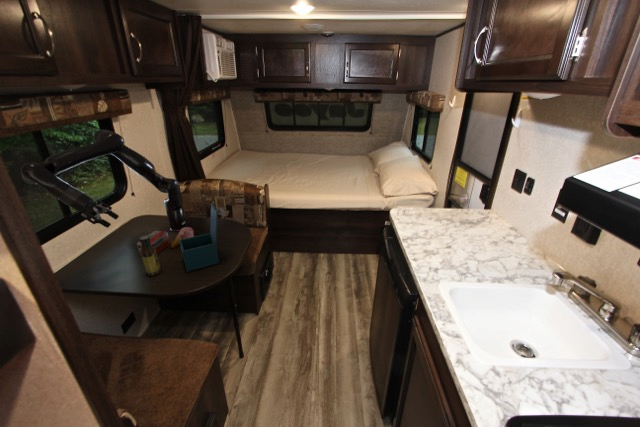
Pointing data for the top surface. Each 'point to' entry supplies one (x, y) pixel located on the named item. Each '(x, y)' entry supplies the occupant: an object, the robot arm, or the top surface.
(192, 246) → the cool box
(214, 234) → the cool box lid
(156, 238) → the medicine box
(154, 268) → the sauce bottle
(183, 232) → the ice cream
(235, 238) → the top surface
